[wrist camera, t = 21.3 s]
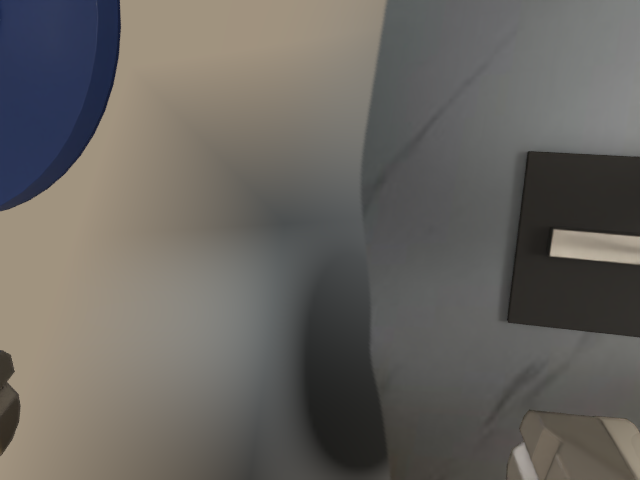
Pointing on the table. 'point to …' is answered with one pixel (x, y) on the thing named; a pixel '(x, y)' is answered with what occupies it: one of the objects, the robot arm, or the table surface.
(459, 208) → the table surface
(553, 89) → the table surface
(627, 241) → the fork
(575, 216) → the mat
